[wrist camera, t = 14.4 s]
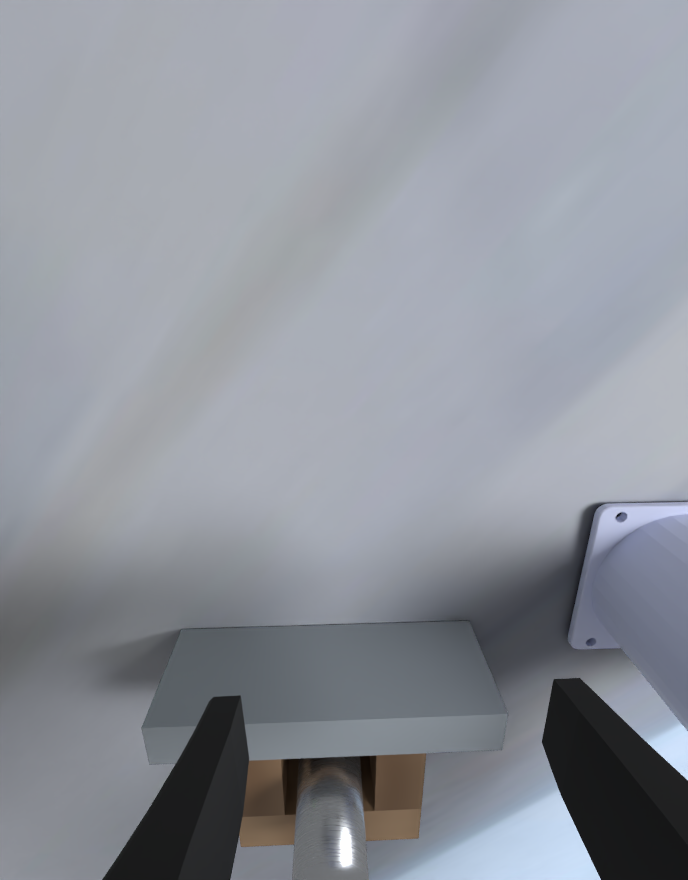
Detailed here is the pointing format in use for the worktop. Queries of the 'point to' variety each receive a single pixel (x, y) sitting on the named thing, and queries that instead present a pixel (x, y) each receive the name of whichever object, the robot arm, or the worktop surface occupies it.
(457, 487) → the worktop surface
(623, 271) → the worktop surface
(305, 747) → the wall
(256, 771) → the block
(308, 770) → the dowel
